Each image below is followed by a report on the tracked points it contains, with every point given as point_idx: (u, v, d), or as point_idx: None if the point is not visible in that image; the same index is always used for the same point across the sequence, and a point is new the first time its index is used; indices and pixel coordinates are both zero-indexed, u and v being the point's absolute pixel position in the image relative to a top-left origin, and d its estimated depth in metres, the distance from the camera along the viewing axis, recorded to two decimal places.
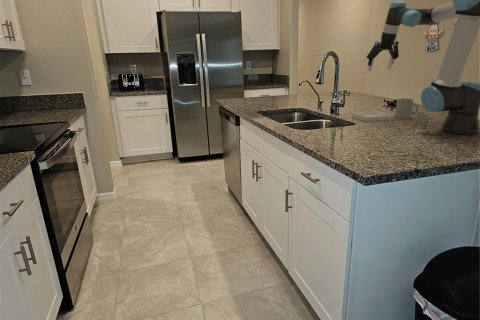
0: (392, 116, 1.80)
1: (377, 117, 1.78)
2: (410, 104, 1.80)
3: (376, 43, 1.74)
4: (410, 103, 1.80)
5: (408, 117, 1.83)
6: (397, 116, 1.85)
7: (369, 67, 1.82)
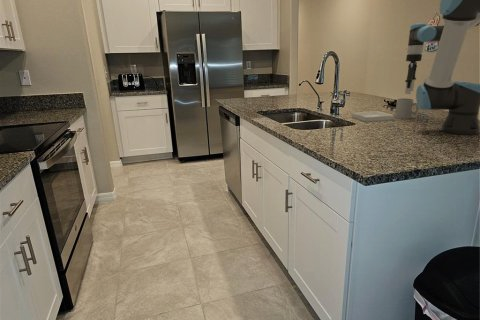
0: (392, 116, 1.80)
1: (377, 117, 1.78)
2: (410, 104, 1.80)
3: (411, 65, 1.71)
4: (410, 103, 1.80)
5: (408, 117, 1.83)
6: (397, 116, 1.85)
7: (408, 90, 1.75)
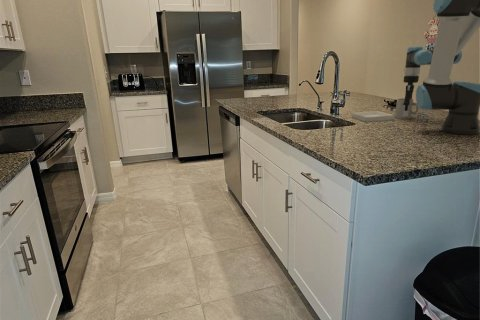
0: (392, 116, 1.80)
1: (377, 117, 1.78)
2: (410, 104, 1.80)
3: (408, 88, 1.75)
4: (410, 103, 1.80)
5: (408, 117, 1.82)
6: (397, 116, 1.85)
7: (405, 112, 1.80)
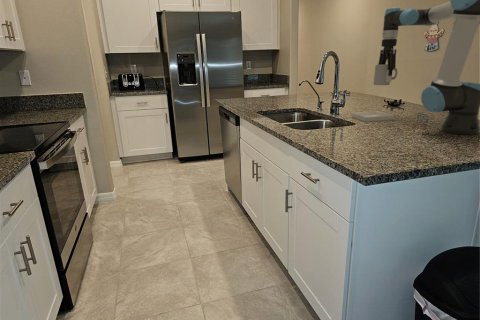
0: (392, 116, 1.80)
1: (377, 117, 1.78)
2: None
3: (394, 51, 1.68)
4: None
5: (389, 83, 1.78)
6: (380, 83, 1.77)
7: (389, 77, 1.74)
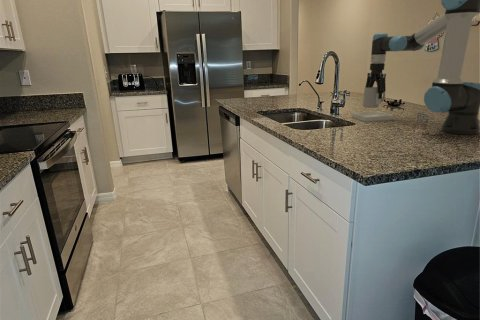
0: (392, 116, 1.80)
1: (377, 117, 1.78)
2: None
3: (383, 75, 1.72)
4: None
5: (378, 105, 1.82)
6: (370, 105, 1.80)
7: (379, 100, 1.78)
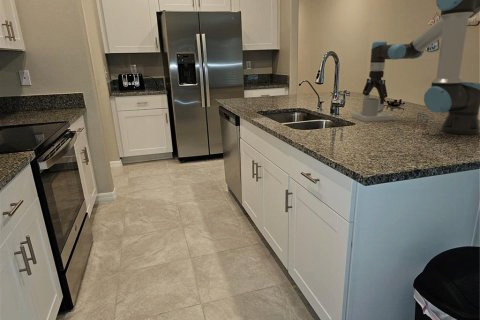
0: (392, 116, 1.80)
1: (377, 117, 1.78)
2: None
3: (383, 81, 1.73)
4: None
5: None
6: (368, 116, 1.82)
7: (381, 106, 1.77)
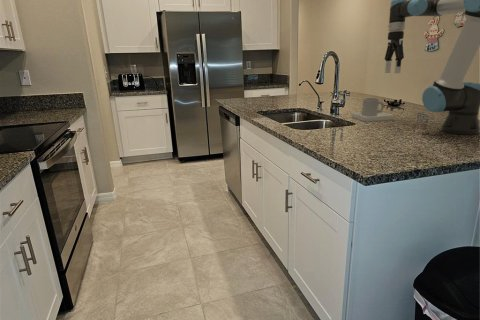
0: (392, 116, 1.80)
1: (377, 117, 1.78)
2: (378, 103, 1.82)
3: (400, 41, 1.61)
4: (378, 102, 1.81)
5: None
6: (368, 116, 1.82)
7: (398, 69, 1.64)
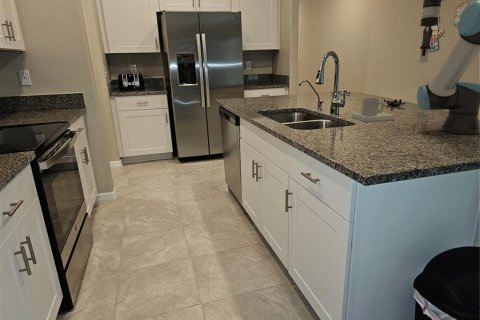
0: (392, 116, 1.80)
1: (377, 117, 1.78)
2: (378, 103, 1.82)
3: (427, 29, 1.50)
4: (378, 102, 1.81)
5: None
6: (368, 116, 1.82)
7: (423, 58, 1.53)
